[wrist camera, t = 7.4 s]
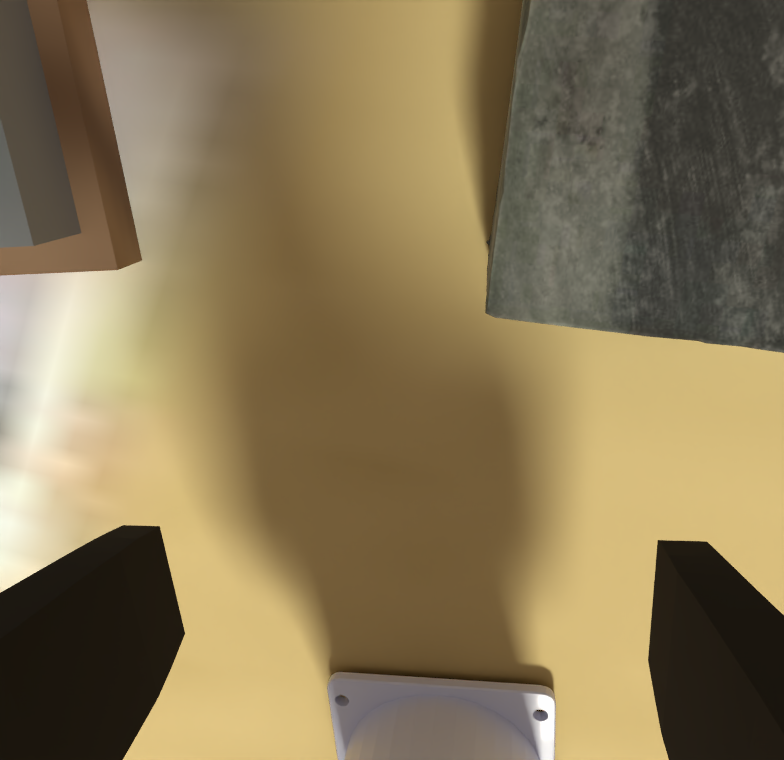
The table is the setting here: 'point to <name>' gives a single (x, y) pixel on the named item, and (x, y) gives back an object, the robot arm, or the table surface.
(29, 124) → the tower mid
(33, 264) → the tower base
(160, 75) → the table surface
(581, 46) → the stone block
